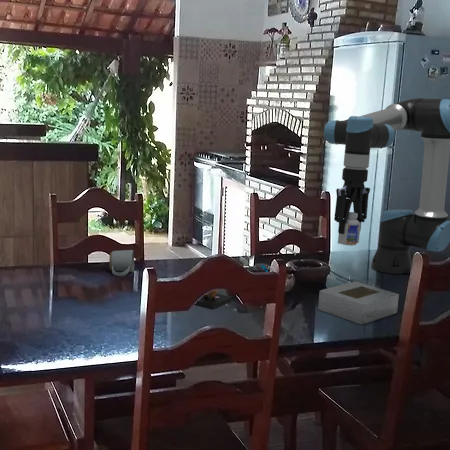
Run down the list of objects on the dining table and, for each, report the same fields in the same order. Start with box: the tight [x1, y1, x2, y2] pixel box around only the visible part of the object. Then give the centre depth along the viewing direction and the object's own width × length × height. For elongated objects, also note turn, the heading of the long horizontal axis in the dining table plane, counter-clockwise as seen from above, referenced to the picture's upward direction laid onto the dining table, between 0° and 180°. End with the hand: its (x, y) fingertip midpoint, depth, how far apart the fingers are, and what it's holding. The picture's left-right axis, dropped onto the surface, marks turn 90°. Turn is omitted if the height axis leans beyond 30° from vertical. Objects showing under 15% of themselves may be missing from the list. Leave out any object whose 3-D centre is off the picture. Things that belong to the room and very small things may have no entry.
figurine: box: [194, 290, 233, 311], centre depth 195 cm, size 10×10×12 cm
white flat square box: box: [317, 281, 400, 326], centre depth 194 cm, size 18×16×6 cm
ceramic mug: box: [108, 249, 135, 277], centre depth 223 cm, size 11×8×8 cm
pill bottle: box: [345, 211, 359, 247], centre depth 197 cm, size 5×5×10 cm
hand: (348, 242), depth 198 cm, fingers closed on pill bottle, 5 cm apart
